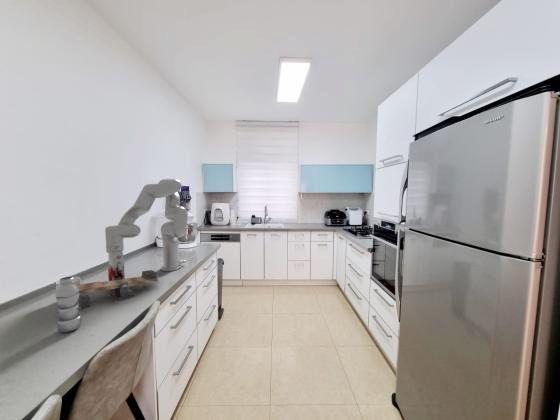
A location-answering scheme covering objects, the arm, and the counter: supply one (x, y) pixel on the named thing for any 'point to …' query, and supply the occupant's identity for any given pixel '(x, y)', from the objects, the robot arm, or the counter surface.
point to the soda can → (113, 273)
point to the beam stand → (115, 294)
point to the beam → (118, 282)
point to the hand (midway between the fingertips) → (116, 279)
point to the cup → (76, 282)
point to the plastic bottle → (68, 305)
